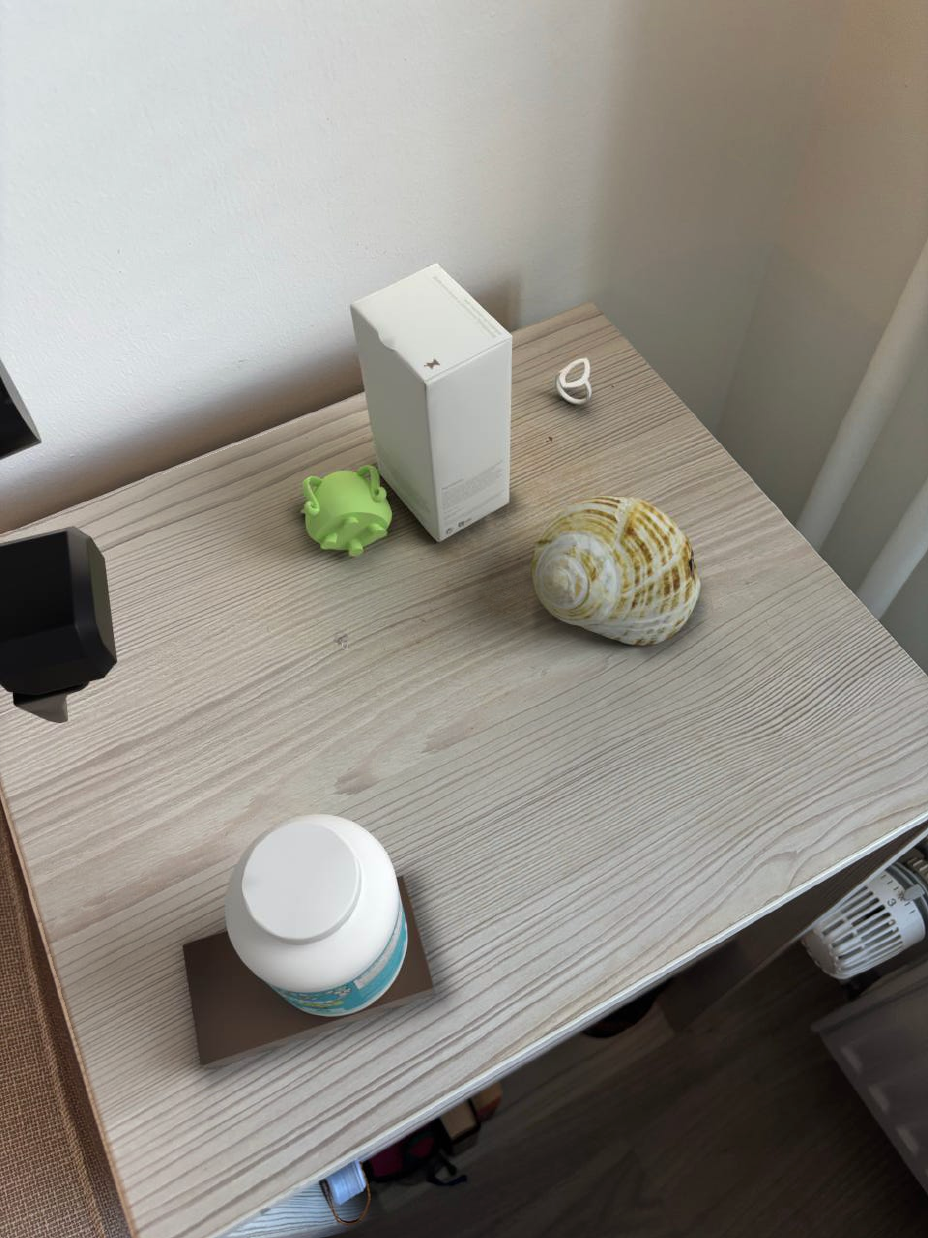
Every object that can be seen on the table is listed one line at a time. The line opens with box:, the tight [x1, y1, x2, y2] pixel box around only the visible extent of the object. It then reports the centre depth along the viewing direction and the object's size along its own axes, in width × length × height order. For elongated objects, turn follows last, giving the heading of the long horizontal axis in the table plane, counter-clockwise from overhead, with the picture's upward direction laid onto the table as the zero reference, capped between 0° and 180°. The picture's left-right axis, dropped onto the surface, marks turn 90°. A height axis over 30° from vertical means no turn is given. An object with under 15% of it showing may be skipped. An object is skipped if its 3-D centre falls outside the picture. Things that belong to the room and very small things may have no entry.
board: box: [181, 874, 437, 1070], centre depth 49 cm, size 12×6×2 cm, turn 108°
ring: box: [553, 357, 593, 406], centre depth 69 cm, size 2×3×3 cm
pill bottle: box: [224, 813, 407, 1016], centre depth 42 cm, size 8×7×14 cm
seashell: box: [531, 495, 701, 646], centre depth 59 cm, size 10×10×10 cm
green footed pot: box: [300, 464, 393, 557], centre depth 62 cm, size 6×5×6 cm
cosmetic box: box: [349, 263, 514, 543], centre depth 59 cm, size 8×7×16 cm
